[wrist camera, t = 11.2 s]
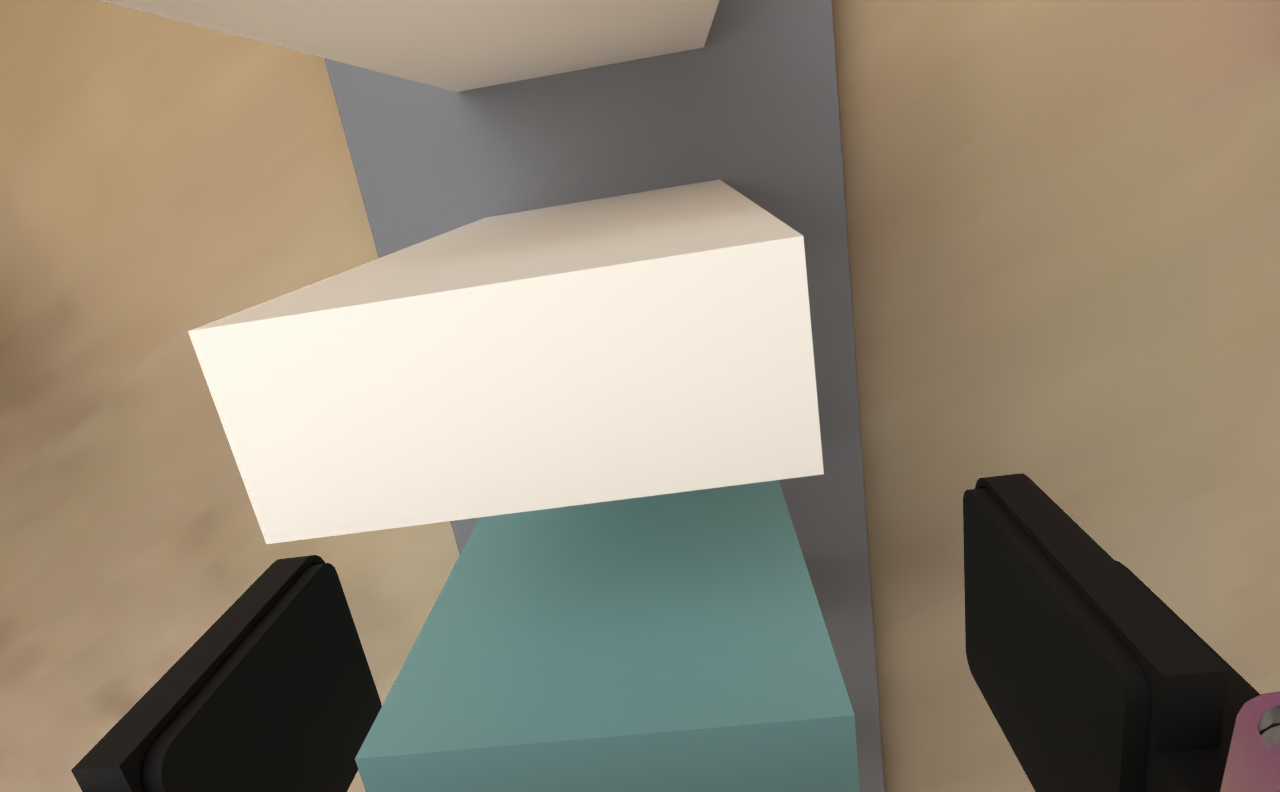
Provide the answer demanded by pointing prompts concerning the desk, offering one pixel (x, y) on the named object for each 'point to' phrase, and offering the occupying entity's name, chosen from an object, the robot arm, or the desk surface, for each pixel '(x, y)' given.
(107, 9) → the desk surface
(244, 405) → the domino
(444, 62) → the domino
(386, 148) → the slate mat
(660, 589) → the domino
